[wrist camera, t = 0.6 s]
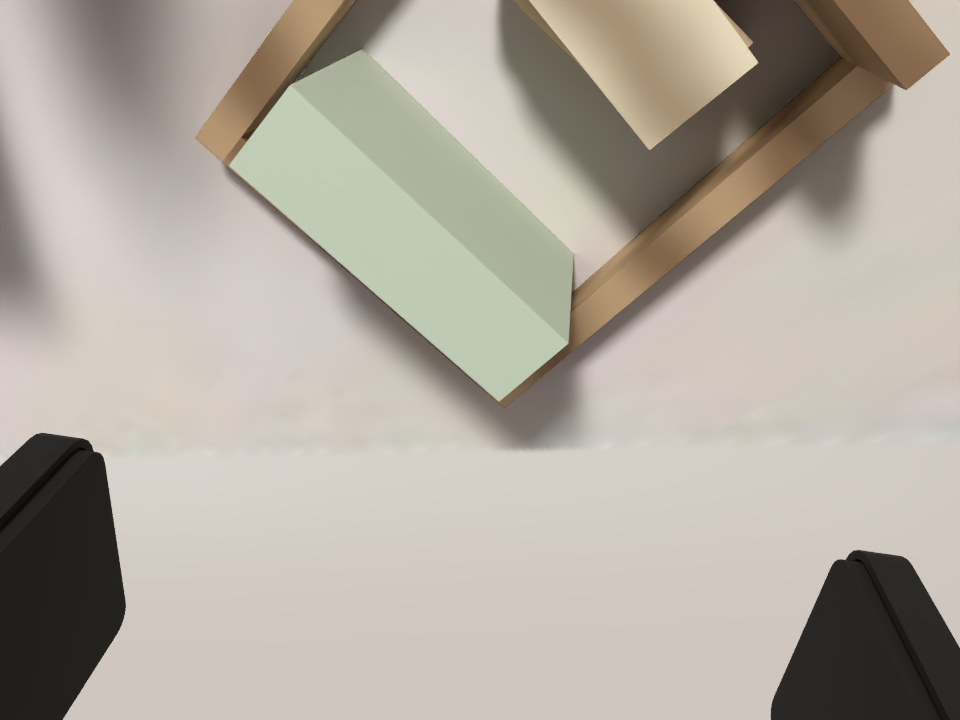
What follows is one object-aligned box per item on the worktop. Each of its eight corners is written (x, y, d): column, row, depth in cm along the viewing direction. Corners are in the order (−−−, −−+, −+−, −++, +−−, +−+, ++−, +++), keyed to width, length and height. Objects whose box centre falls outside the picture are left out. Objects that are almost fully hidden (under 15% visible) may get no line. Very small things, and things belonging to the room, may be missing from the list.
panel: (363, 48, 36) (290, 85, 27) (573, 252, 39) (568, 343, 31) (312, 111, 38) (228, 165, 29) (518, 302, 41) (498, 401, 32)
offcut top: (601, -149, 27) (601, -155, 25) (746, 53, 30) (758, 62, 28) (500, -46, 29) (493, -44, 27) (645, 136, 32) (649, 150, 30)
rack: (567, -355, 28) (558, -450, 21) (896, 56, 33) (977, 89, 26) (216, 126, 38) (133, 169, 31) (508, 385, 43) (492, 471, 36)
